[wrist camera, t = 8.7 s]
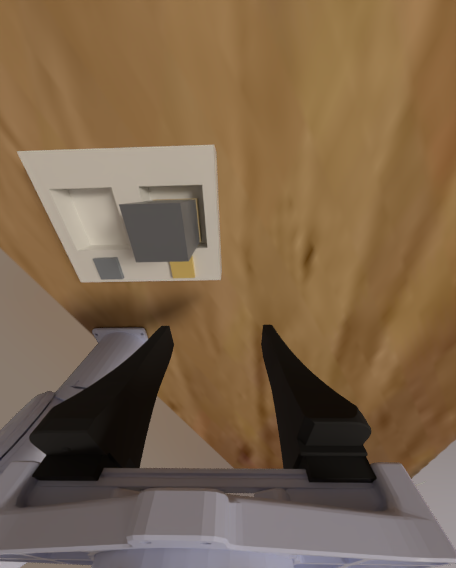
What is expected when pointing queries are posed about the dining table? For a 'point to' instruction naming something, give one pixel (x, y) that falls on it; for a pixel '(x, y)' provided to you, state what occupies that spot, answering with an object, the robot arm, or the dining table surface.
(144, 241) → the plug
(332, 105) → the dining table surface
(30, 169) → the sorting tray
